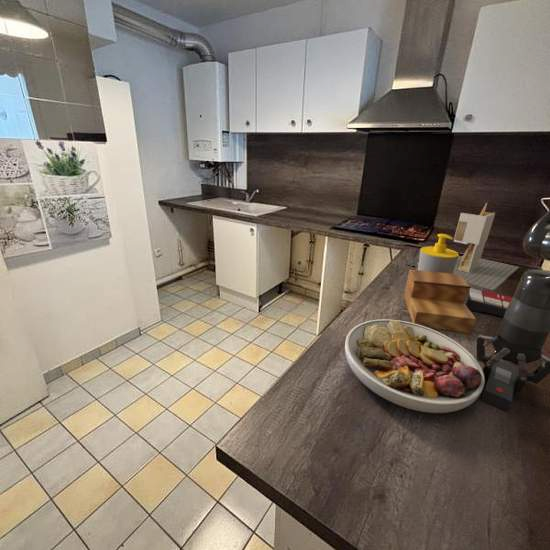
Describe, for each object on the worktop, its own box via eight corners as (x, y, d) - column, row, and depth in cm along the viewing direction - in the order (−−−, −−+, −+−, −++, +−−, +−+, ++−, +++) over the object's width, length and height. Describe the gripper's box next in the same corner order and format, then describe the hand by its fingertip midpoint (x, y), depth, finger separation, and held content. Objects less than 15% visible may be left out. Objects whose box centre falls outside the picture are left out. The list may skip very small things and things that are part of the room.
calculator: (525, 311, 91) (469, 297, 98) (519, 323, 93) (465, 308, 99) (518, 297, 100) (468, 286, 106) (513, 308, 102) (464, 296, 108)
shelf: (451, 302, 104) (460, 274, 100) (472, 333, 86) (483, 300, 82) (403, 296, 108) (408, 269, 103) (412, 325, 90) (420, 293, 85)
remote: (490, 367, 73) (494, 357, 71) (513, 376, 70) (517, 366, 69) (481, 399, 63) (485, 389, 62) (507, 411, 60) (512, 400, 59)
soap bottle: (437, 296, 108) (451, 241, 100) (406, 283, 118) (416, 233, 110) (455, 288, 115) (470, 236, 106) (424, 277, 125) (436, 228, 116)
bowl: (320, 371, 69) (323, 344, 66) (372, 321, 90) (376, 299, 87) (463, 452, 52) (477, 420, 49) (486, 367, 73) (496, 341, 70)
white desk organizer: (445, 266, 137) (461, 204, 126) (458, 259, 147) (474, 200, 136) (468, 272, 130) (487, 207, 119) (480, 264, 140) (499, 203, 129)
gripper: (574, 326, 58) (540, 391, 64) (488, 302, 66) (466, 361, 73) (576, 343, 52) (539, 412, 59) (483, 314, 61) (460, 377, 68)
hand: (499, 384), depth 66 cm, fingers closed on remote, 4 cm apart
